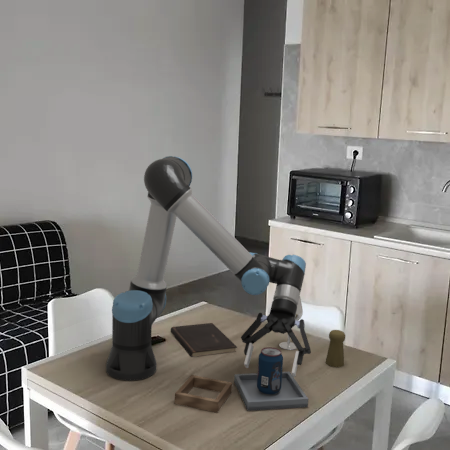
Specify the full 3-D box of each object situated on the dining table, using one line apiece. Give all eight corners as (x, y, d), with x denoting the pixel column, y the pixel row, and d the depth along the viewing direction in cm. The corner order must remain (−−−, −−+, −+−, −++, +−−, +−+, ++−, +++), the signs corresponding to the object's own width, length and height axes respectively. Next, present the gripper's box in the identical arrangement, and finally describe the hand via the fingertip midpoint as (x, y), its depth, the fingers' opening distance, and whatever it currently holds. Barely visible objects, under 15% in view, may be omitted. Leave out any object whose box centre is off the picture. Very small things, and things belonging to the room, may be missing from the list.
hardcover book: (212, 328, 218) (212, 322, 217) (236, 353, 197) (237, 346, 196) (170, 333, 212) (170, 327, 211) (191, 358, 191) (191, 352, 190)
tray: (247, 410, 158) (248, 402, 158) (234, 382, 175) (234, 374, 174) (307, 407, 162) (308, 398, 161) (289, 379, 178) (289, 371, 178)
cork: (346, 361, 193) (349, 330, 190) (341, 368, 187) (344, 336, 185) (328, 357, 195) (330, 326, 193) (323, 364, 190) (325, 332, 187)
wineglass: (294, 353, 198) (297, 301, 194) (272, 347, 202) (275, 296, 198) (304, 345, 205) (307, 295, 201) (282, 339, 209) (286, 291, 205)
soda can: (262, 382, 173) (265, 344, 170) (284, 389, 170) (287, 349, 167) (252, 392, 167) (254, 352, 164) (274, 398, 164) (277, 358, 161)
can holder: (174, 403, 160) (174, 393, 160) (191, 384, 172) (191, 374, 171) (217, 412, 157) (217, 402, 156) (231, 392, 168) (232, 382, 168)
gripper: (327, 315, 175) (314, 383, 164) (247, 303, 183) (229, 367, 172) (326, 303, 169) (312, 373, 158) (242, 291, 177) (224, 357, 166)
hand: (269, 370), depth 165 cm, fingers open, 13 cm apart
